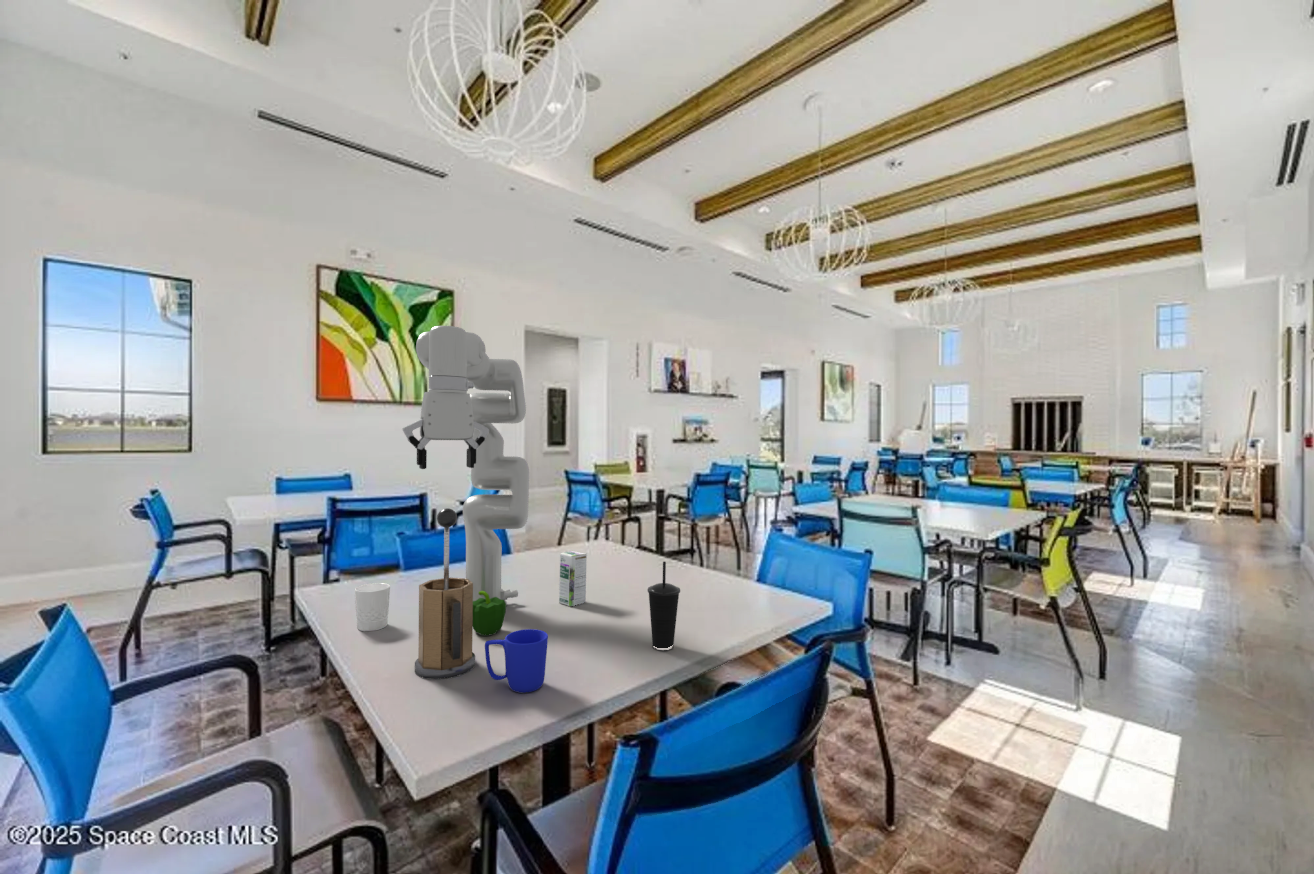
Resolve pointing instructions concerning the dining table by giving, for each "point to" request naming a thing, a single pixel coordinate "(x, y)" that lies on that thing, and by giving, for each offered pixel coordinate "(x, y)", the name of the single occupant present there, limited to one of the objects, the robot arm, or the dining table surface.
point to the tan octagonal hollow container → (445, 629)
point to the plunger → (446, 538)
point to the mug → (522, 659)
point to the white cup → (372, 606)
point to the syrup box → (572, 578)
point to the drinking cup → (663, 612)
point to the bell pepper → (488, 614)
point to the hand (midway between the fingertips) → (447, 468)
